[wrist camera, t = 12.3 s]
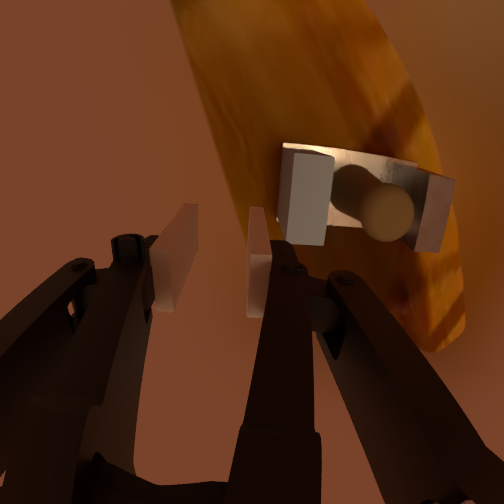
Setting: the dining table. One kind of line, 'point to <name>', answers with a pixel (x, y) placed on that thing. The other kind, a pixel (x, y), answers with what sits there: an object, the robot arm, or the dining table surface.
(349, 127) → the dining table surface
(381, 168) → the vise
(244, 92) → the dining table surface
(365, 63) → the dining table surface
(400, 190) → the wooden pawn
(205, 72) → the dining table surface
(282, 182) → the block
